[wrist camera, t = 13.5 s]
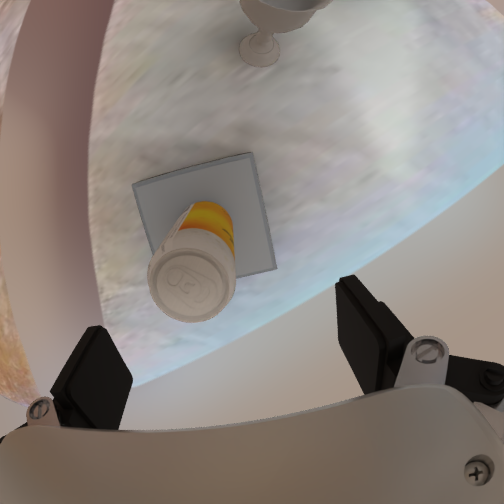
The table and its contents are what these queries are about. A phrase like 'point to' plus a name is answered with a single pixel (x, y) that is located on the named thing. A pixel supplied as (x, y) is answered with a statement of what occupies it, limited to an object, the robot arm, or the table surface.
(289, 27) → the chalice
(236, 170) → the plinth
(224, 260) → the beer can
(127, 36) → the table surface
